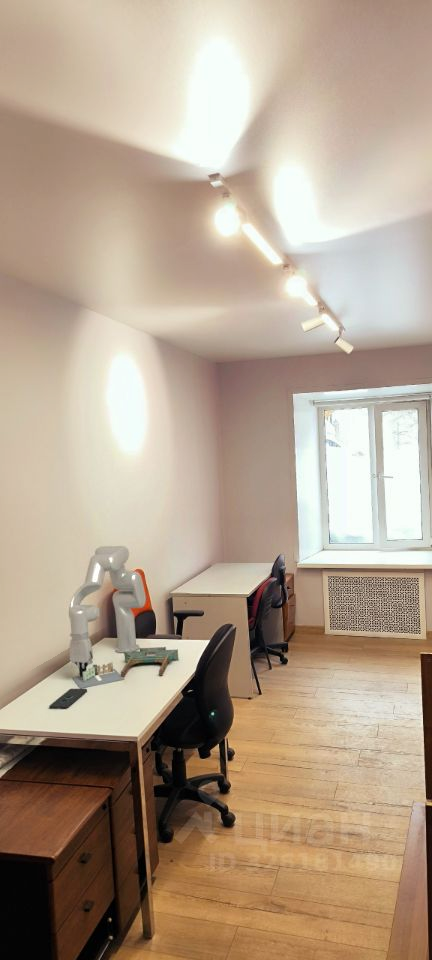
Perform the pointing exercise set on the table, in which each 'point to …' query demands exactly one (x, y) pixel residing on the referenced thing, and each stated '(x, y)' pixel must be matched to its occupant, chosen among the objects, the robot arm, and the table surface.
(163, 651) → the miniature gate
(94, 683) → the card
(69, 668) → the table surface
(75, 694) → the smart home device
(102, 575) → the robot arm
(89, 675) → the folding fence panel
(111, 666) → the fixed fence section
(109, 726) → the table surface
